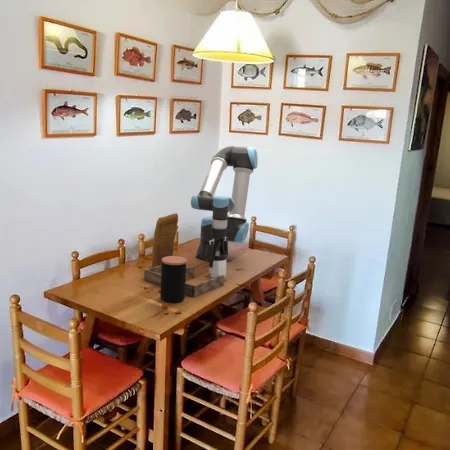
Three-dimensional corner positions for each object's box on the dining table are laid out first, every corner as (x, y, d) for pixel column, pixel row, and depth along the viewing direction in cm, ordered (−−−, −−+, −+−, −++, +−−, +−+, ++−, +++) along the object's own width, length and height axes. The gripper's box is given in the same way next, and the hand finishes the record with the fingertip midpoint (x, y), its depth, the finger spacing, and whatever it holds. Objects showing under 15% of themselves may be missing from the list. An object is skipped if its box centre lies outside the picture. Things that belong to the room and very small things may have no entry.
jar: (215, 279, 231) (215, 257, 228) (206, 274, 237) (206, 252, 234) (229, 276, 236) (230, 254, 233) (220, 271, 242) (220, 249, 239)
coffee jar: (189, 299, 203) (191, 260, 199) (171, 305, 195) (173, 264, 191) (173, 292, 210) (175, 254, 206) (155, 298, 202) (156, 258, 198)
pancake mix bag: (180, 263, 253) (182, 213, 247) (155, 271, 238) (157, 218, 232) (171, 261, 257) (173, 211, 251) (146, 268, 242) (147, 215, 236)
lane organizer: (175, 270, 242) (176, 260, 241) (224, 285, 224) (224, 275, 223) (143, 279, 224) (144, 269, 223) (193, 297, 206) (194, 286, 205)
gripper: (225, 223, 240) (222, 265, 245) (200, 228, 224) (198, 274, 229) (237, 226, 236) (234, 269, 241) (212, 231, 220) (209, 277, 225)
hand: (216, 271), depth 235 cm, fingers open, 7 cm apart
